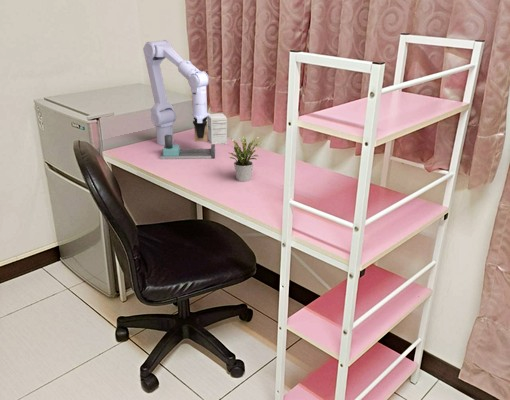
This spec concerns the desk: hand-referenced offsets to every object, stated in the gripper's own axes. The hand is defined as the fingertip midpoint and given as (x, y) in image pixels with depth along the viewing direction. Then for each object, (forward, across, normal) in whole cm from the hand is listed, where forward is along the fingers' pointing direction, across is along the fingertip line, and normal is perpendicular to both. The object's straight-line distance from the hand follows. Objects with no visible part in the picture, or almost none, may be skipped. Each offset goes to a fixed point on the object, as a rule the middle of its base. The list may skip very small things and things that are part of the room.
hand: (200, 135), depth 206 cm
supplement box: (+9, +17, -7) cm, 20 cm away
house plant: (+9, -27, -18) cm, 33 cm away
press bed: (+8, -2, +5) cm, 10 cm away
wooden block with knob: (+2, 0, 0) cm, 2 cm away
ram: (+8, -2, +12) cm, 14 cm away
